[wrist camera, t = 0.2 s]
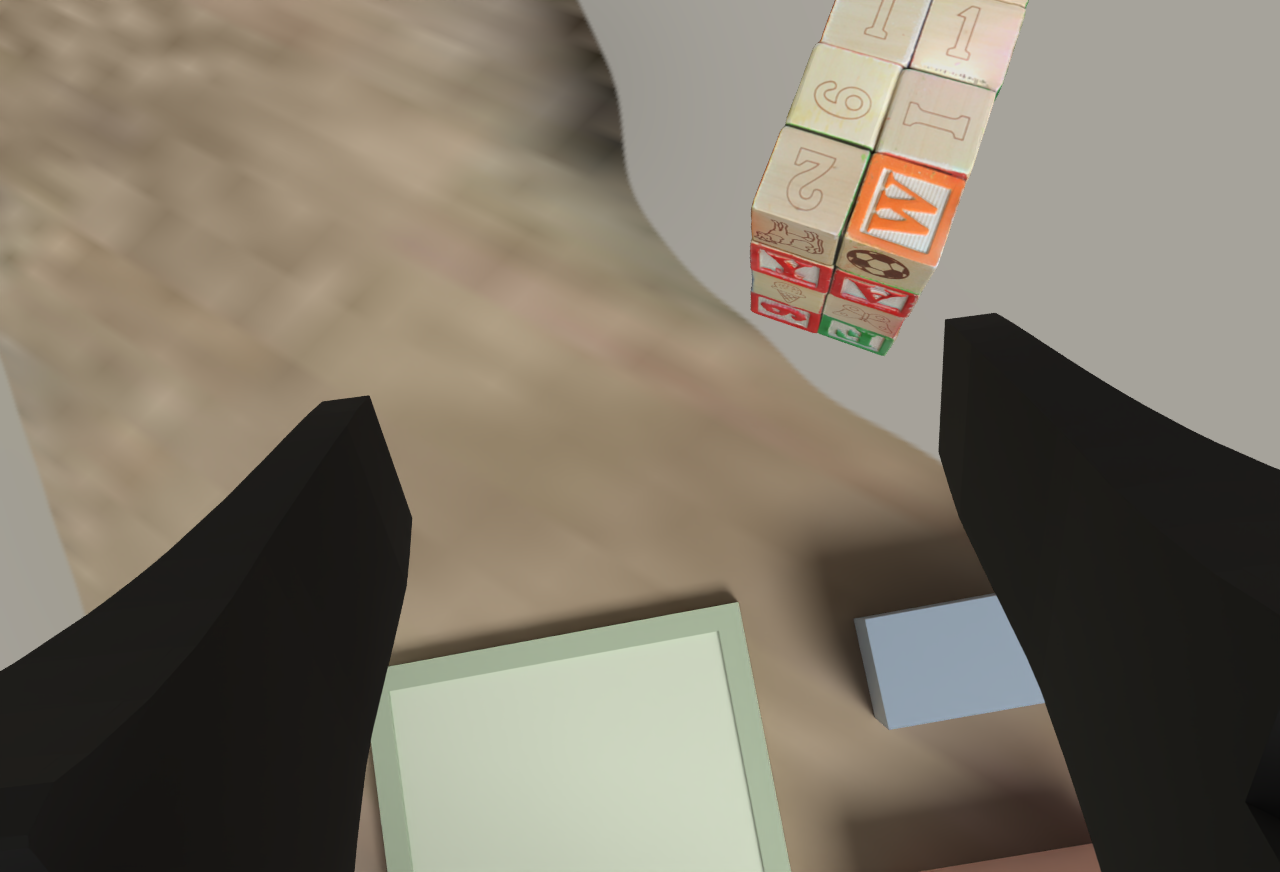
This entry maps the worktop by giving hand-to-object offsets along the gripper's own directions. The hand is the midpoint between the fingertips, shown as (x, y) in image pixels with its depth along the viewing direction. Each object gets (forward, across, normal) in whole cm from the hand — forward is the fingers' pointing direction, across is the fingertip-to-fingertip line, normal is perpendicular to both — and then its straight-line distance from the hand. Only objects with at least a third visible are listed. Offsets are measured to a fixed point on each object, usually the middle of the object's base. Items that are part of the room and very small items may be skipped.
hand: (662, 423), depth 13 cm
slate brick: (+18, -11, +26) cm, 33 cm away
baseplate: (+14, +6, +30) cm, 33 cm away
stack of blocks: (+34, -11, +10) cm, 38 cm away
